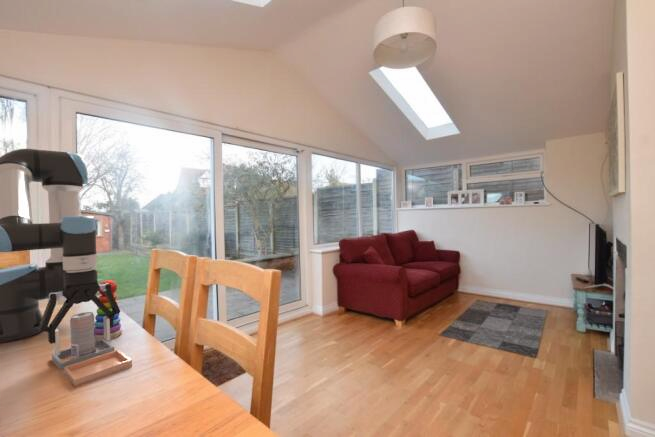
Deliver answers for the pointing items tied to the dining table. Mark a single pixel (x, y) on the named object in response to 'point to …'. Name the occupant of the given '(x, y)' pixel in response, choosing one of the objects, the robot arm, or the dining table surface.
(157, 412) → the dining table surface
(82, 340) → the energy drink
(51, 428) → the dining table surface
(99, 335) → the stacking toy
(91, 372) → the terracotta dish
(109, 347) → the grey rectangular frame
